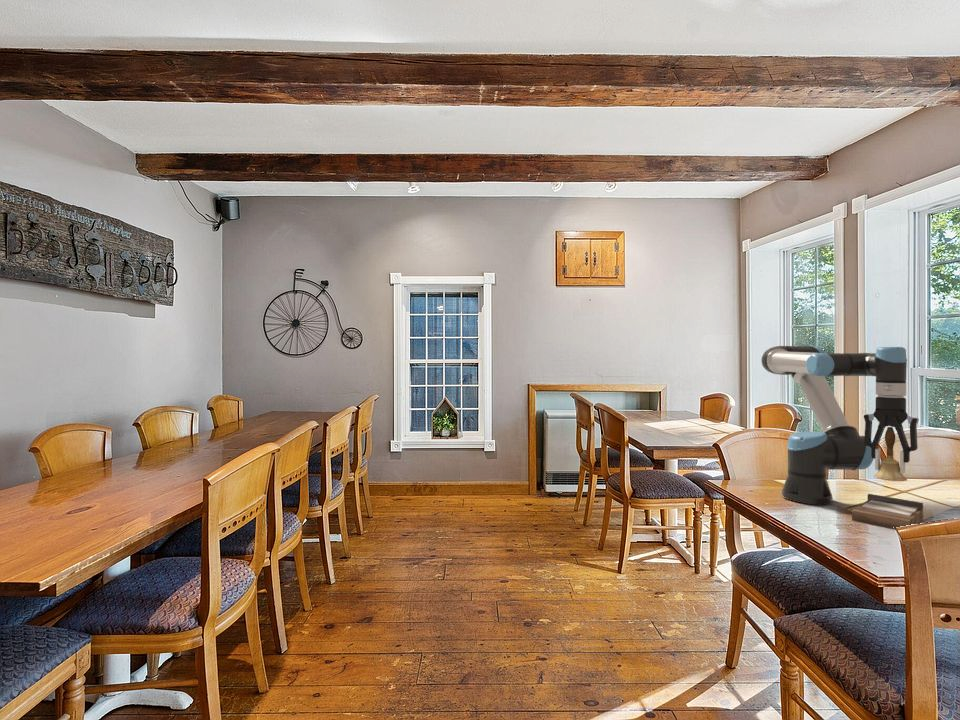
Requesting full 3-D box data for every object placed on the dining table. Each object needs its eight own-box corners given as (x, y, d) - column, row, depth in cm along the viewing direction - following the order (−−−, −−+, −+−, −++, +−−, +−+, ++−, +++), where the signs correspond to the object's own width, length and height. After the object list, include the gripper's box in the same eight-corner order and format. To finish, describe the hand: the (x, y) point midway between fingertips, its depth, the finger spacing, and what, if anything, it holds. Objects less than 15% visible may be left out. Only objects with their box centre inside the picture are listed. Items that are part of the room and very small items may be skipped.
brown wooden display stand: (909, 531, 154) (909, 514, 154) (851, 520, 164) (852, 503, 164) (922, 518, 165) (923, 502, 165) (868, 508, 176) (868, 493, 176)
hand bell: (866, 475, 170) (867, 425, 169) (891, 475, 170) (891, 425, 170) (888, 481, 161) (889, 429, 161) (914, 481, 162) (914, 429, 162)
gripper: (851, 395, 170) (851, 467, 170) (926, 399, 156) (925, 478, 156) (858, 394, 175) (858, 464, 175) (931, 397, 161) (931, 474, 161)
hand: (890, 470), depth 166 cm, fingers closed on hand bell, 5 cm apart
